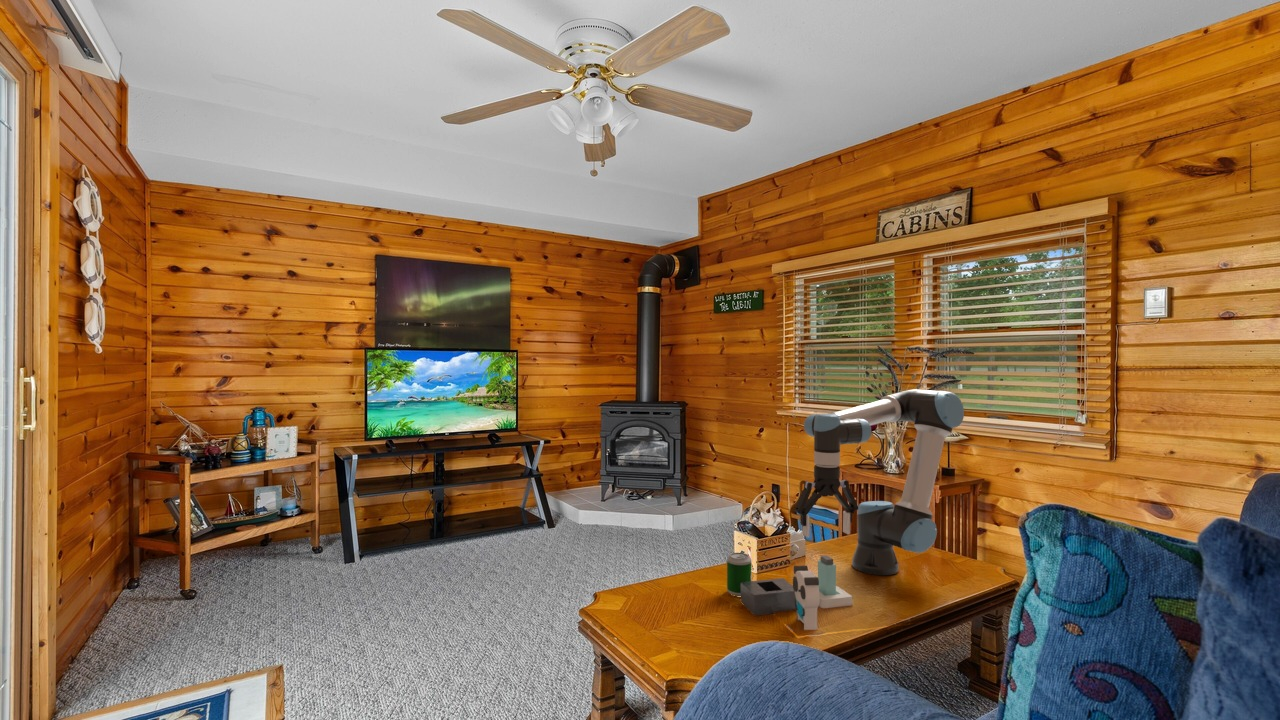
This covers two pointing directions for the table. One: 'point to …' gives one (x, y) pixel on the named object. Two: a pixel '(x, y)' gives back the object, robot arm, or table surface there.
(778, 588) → the block
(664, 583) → the table surface
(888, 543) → the robot arm
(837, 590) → the white flat block
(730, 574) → the soda can
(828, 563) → the plug
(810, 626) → the panda figurine
